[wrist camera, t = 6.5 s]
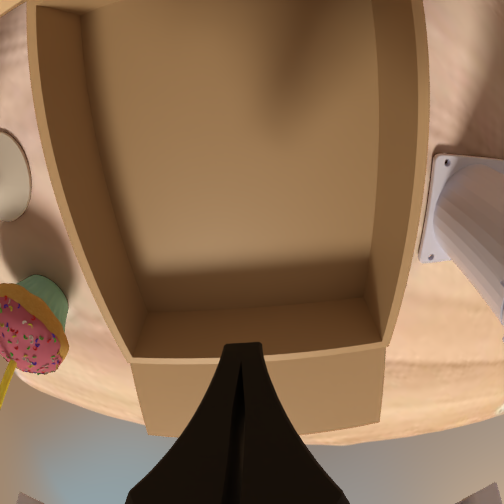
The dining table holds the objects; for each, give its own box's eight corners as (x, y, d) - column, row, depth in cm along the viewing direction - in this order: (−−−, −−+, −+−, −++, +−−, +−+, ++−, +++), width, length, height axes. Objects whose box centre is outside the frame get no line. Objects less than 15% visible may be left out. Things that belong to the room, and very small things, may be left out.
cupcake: (94, 339, 24) (50, 452, 14) (25, 320, 24) (-27, 413, 13) (75, 260, 20) (-8, 389, 10) (0, 247, 19) (-81, 343, 9)
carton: (372, -24, 10) (412, -51, 6) (367, 297, 22) (388, 346, 17) (76, 12, 11) (26, 1, 7) (145, 313, 22) (127, 362, 18)
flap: (379, 422, 18) (377, 418, 18) (385, 346, 17) (383, 344, 18) (148, 434, 18) (150, 431, 19) (130, 363, 18) (133, 360, 19)
